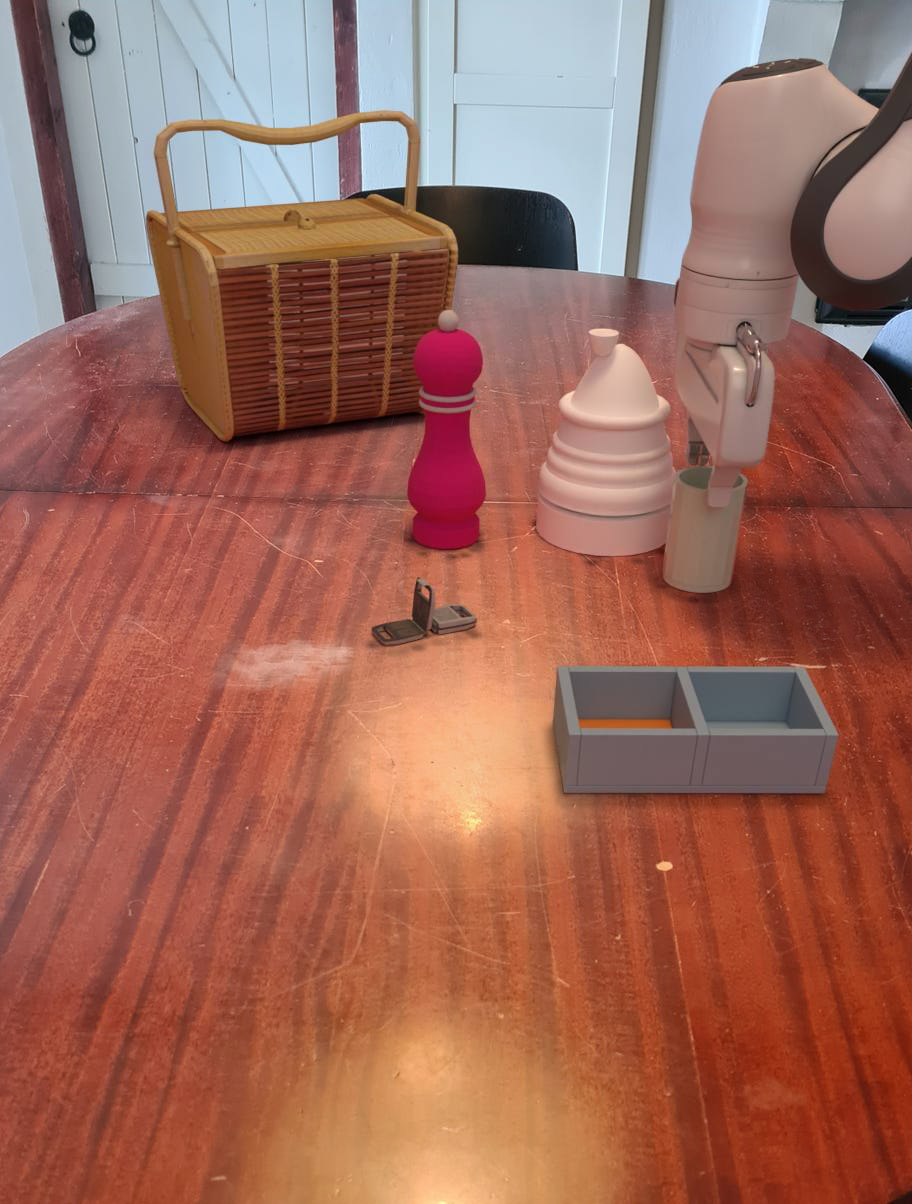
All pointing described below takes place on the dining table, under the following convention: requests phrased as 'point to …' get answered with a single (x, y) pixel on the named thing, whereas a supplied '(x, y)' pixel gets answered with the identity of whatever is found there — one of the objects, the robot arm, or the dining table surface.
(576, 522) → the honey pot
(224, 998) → the dining table surface
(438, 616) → the strap clip
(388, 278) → the picnic basket
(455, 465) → the pepper mill
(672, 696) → the holder
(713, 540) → the cup
